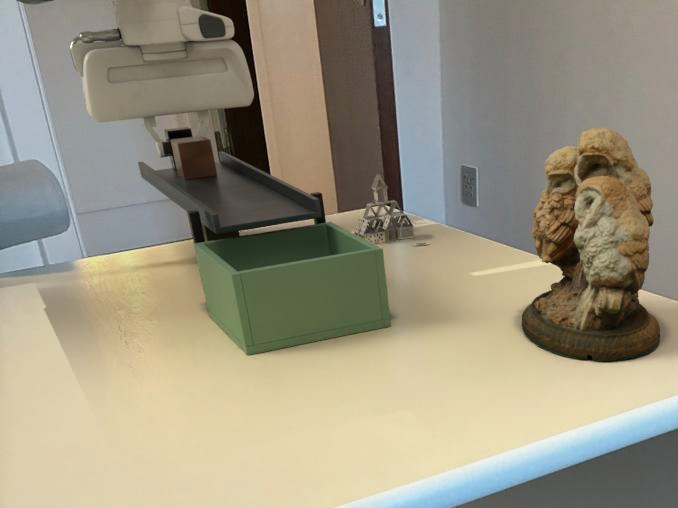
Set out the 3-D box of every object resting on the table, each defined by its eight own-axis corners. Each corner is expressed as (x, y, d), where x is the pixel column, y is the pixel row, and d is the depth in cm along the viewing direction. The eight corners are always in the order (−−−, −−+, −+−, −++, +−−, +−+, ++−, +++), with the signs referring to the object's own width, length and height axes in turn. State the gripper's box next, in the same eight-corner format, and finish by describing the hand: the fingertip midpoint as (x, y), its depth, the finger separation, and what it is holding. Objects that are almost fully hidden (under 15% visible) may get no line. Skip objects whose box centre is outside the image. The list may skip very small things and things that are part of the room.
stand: (210, 314, 101) (189, 212, 95) (168, 271, 116) (147, 182, 110) (335, 291, 105) (322, 193, 100) (279, 253, 121) (264, 166, 115)
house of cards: (365, 255, 118) (357, 188, 113) (341, 242, 124) (333, 177, 120) (431, 244, 121) (426, 178, 116) (404, 231, 127) (399, 168, 123)
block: (185, 180, 115) (177, 143, 113) (177, 175, 118) (170, 139, 116) (217, 175, 117) (210, 139, 114) (209, 171, 120) (202, 135, 117)
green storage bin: (247, 355, 89) (231, 274, 85) (209, 316, 100) (193, 243, 96) (391, 326, 94) (382, 248, 90) (340, 292, 105) (330, 221, 101)
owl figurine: (493, 315, 95) (485, 123, 85) (599, 298, 98) (603, 110, 88) (570, 371, 81) (572, 149, 71) (691, 349, 84) (708, 133, 75)
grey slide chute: (215, 234, 94) (204, 177, 91) (141, 177, 122) (130, 132, 119) (321, 217, 97) (314, 162, 94) (225, 166, 126) (217, 122, 123)
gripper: (69, 33, 108) (103, 168, 116) (245, 19, 115) (266, 147, 123) (61, 32, 112) (95, 161, 120) (231, 18, 119) (252, 141, 127)
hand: (183, 154), depth 121 cm, fingers closed on grey slide chute, 3 cm apart
